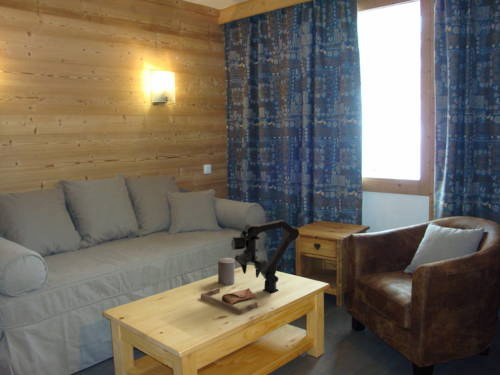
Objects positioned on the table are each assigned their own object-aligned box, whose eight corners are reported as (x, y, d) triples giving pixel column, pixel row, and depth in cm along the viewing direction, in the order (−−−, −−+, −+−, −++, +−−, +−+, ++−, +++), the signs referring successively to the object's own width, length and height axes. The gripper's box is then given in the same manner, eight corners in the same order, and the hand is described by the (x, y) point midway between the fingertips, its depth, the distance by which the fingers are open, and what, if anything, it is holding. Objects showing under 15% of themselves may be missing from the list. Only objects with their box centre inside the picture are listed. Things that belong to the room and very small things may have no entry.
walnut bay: (218, 291, 252) (218, 287, 252) (257, 306, 232) (257, 302, 232) (200, 298, 243) (200, 294, 243) (240, 314, 223) (240, 309, 223)
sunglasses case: (230, 305, 234) (226, 293, 236) (224, 308, 239) (220, 296, 241) (258, 297, 244) (254, 285, 246) (251, 300, 250) (248, 288, 252)
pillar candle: (214, 283, 266) (214, 258, 263) (225, 278, 274) (225, 254, 271) (227, 286, 260) (228, 261, 258) (238, 281, 268) (238, 257, 266)
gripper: (227, 247, 247) (228, 275, 249) (253, 254, 234) (253, 283, 236) (242, 243, 255) (242, 270, 257) (267, 249, 242) (267, 278, 244)
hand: (250, 275), depth 248 cm, fingers open, 9 cm apart
